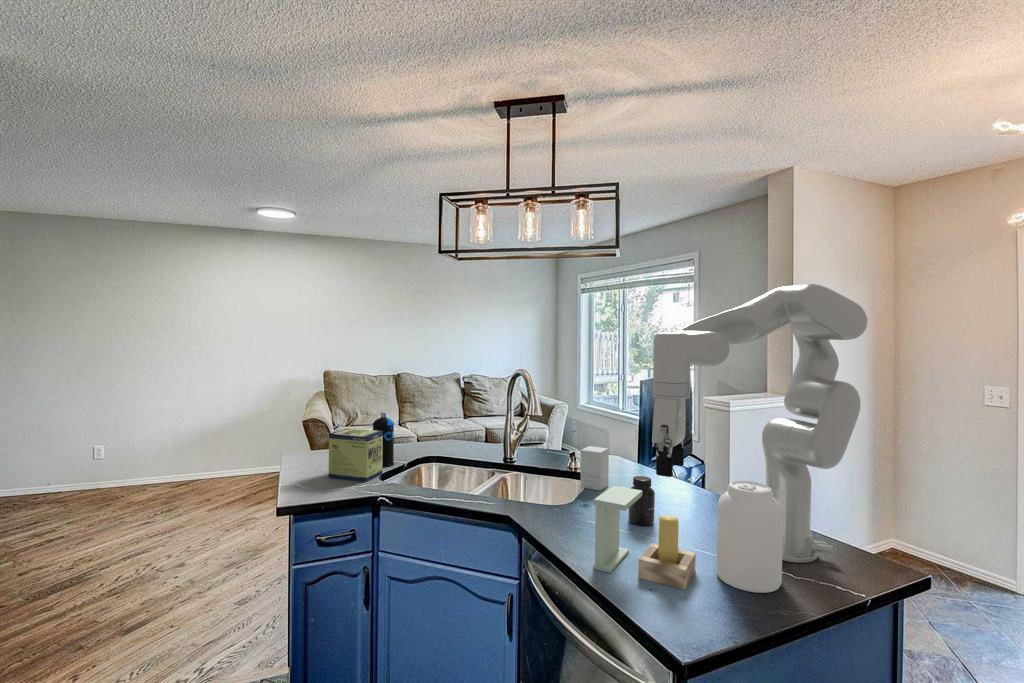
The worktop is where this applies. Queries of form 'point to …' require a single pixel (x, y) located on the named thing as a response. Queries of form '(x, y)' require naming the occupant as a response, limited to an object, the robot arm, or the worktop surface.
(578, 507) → the worktop surface
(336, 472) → the protein box
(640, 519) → the supplement bottle
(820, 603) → the worktop surface
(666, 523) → the peg
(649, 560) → the socket block
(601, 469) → the supplement box
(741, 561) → the can
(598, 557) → the pale green stand
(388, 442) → the black bottle
